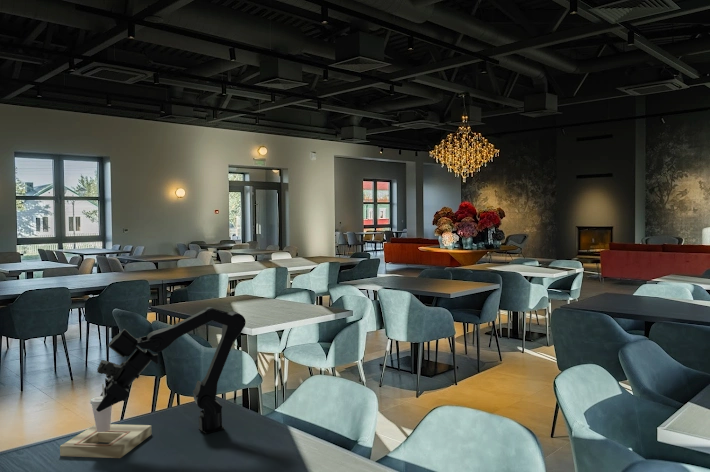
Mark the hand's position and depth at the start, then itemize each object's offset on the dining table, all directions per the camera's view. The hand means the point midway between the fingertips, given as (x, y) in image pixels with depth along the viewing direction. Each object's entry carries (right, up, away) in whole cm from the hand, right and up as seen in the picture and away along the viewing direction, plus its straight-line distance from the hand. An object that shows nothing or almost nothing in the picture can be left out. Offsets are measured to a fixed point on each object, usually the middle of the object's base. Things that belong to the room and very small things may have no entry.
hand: (97, 407), depth 178 cm
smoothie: (+2, -7, +1) cm, 7 cm away
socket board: (+2, -12, +3) cm, 13 cm away
